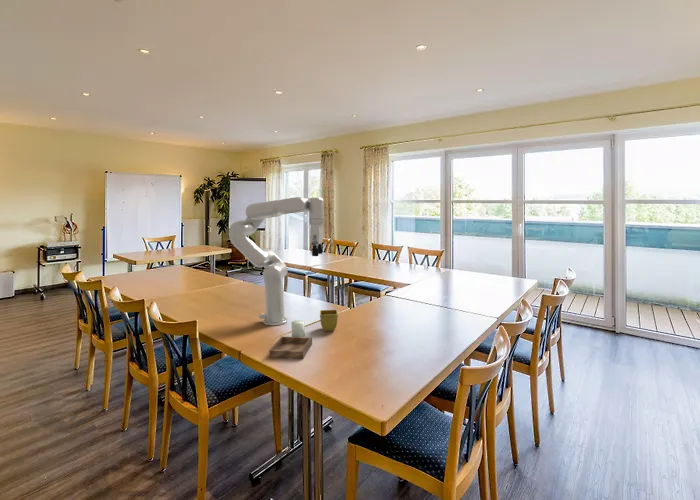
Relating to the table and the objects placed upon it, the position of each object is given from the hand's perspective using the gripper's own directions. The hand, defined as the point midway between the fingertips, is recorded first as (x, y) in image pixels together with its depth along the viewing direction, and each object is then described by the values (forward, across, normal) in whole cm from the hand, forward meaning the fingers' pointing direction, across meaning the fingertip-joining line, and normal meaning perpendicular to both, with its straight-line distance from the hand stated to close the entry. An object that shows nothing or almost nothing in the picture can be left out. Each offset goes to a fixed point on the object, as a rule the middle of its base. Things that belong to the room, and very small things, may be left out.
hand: (317, 254), depth 183 cm
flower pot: (+37, +9, +7) cm, 39 cm away
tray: (+37, +37, -4) cm, 52 cm away
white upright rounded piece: (+37, +23, -5) cm, 44 cm away
